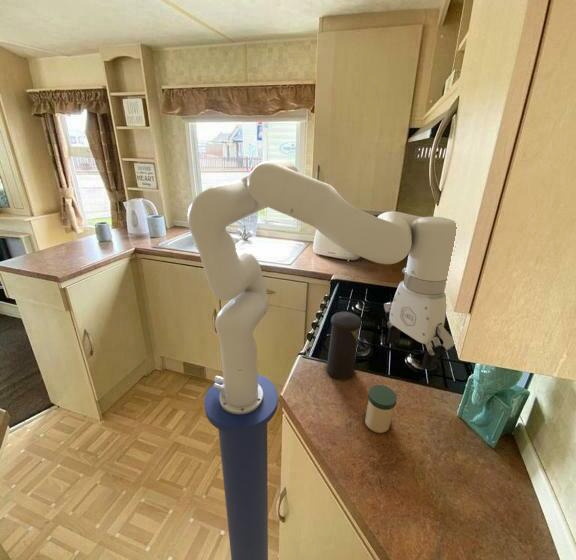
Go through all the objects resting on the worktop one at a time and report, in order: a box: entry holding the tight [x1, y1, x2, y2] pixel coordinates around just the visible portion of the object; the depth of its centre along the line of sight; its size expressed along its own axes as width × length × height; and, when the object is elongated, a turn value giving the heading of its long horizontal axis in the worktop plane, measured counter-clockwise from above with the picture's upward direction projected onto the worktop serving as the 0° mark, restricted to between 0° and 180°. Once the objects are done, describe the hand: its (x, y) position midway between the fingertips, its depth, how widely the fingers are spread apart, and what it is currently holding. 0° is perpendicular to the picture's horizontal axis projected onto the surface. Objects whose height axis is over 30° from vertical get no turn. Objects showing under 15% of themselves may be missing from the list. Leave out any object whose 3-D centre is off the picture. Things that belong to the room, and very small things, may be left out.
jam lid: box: [367, 384, 398, 410], centre depth 78 cm, size 7×7×2 cm
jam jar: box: [364, 399, 395, 434], centre depth 80 cm, size 6×6×9 cm
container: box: [326, 311, 363, 380], centre depth 95 cm, size 9×9×20 cm
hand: (409, 353), depth 68 cm, fingers open, 9 cm apart
